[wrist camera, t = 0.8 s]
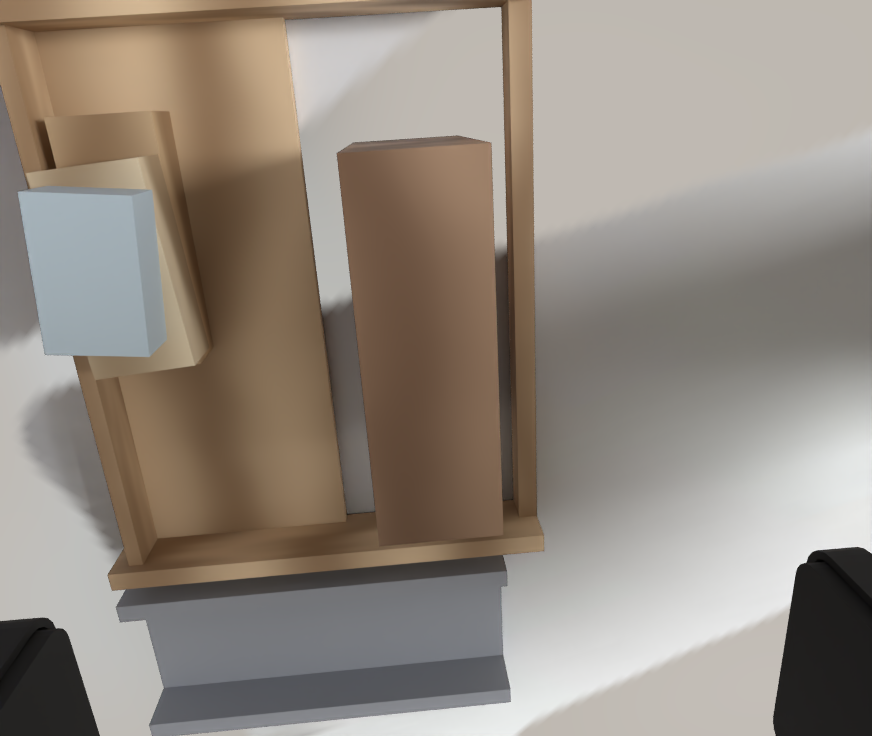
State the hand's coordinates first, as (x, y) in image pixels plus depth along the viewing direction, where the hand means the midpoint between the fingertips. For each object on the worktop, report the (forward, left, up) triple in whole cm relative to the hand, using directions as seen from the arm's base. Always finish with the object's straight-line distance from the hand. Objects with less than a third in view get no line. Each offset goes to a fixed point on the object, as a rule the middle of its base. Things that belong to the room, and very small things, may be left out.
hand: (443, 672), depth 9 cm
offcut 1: (+10, -3, -16) cm, 19 cm away
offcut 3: (+10, -2, -18) cm, 20 cm away
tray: (+5, 0, -20) cm, 21 cm away
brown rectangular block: (0, 0, -20) cm, 20 cm away
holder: (+5, +16, -20) cm, 26 cm away
